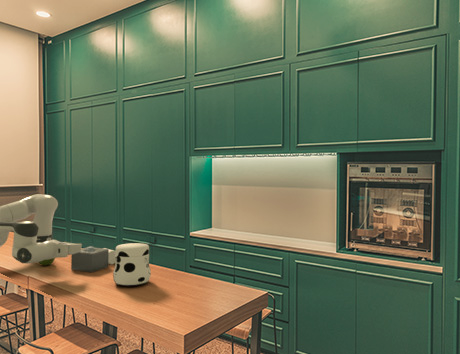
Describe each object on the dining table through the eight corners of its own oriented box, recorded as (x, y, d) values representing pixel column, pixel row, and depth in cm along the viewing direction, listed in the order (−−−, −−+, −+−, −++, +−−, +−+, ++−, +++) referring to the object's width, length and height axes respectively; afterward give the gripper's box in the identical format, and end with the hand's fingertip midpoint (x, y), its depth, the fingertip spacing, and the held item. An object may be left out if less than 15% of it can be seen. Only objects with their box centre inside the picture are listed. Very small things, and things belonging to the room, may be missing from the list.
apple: (30, 266, 202) (31, 248, 202) (45, 262, 212) (46, 245, 212) (46, 268, 199) (46, 250, 199) (60, 263, 209) (60, 246, 209)
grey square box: (71, 269, 197) (71, 251, 197) (88, 264, 209) (88, 247, 209) (91, 272, 192) (92, 253, 192) (108, 266, 204) (108, 249, 204)
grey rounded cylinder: (85, 267, 199) (85, 247, 199) (89, 266, 203) (89, 246, 203) (90, 268, 198) (91, 247, 198) (94, 266, 202) (95, 246, 202)
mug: (106, 265, 207) (106, 251, 207) (97, 262, 214) (97, 249, 214) (124, 262, 216) (124, 248, 216) (115, 259, 223) (115, 246, 223)
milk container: (158, 282, 177) (158, 245, 177) (131, 291, 162) (132, 251, 162) (132, 276, 186) (132, 241, 186) (105, 285, 171) (105, 246, 171)
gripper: (36, 253, 180) (58, 248, 193) (67, 257, 173) (88, 252, 186) (36, 240, 180) (58, 236, 193) (68, 244, 173) (89, 239, 185)
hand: (73, 244), depth 189 cm, fingers open, 8 cm apart
